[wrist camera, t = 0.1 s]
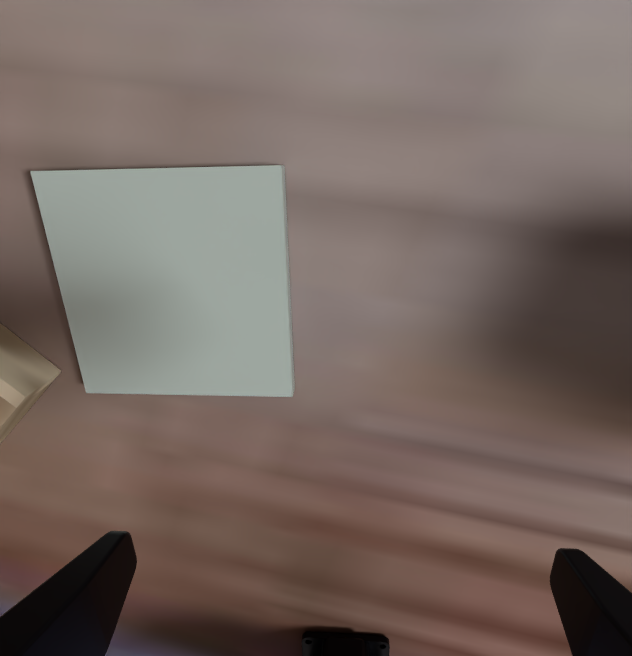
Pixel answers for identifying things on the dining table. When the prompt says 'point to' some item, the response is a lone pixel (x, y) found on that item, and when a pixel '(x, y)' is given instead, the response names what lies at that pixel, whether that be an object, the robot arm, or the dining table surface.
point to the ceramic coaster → (174, 277)
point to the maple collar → (20, 379)
